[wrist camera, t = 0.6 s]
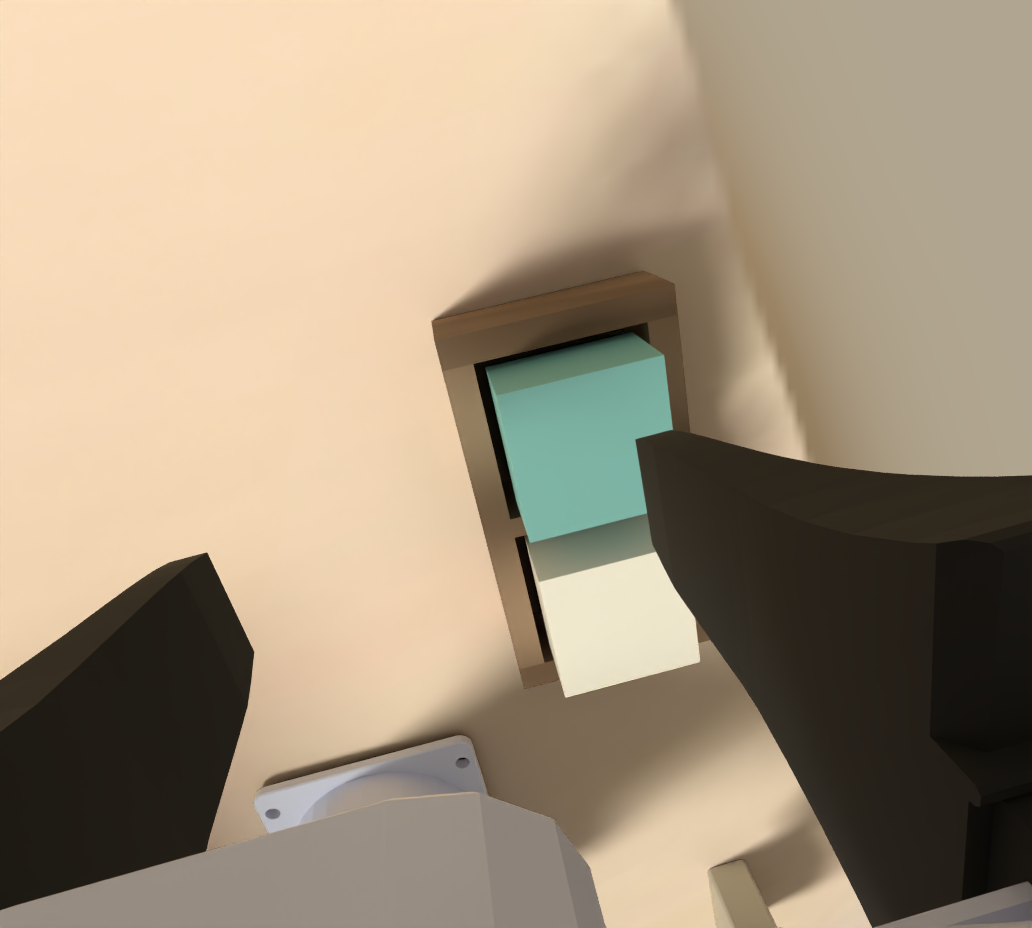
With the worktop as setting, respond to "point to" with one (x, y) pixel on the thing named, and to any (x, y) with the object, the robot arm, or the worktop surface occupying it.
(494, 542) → the board
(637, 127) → the worktop surface
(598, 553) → the ivory key
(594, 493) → the teal key
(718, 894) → the lighter
